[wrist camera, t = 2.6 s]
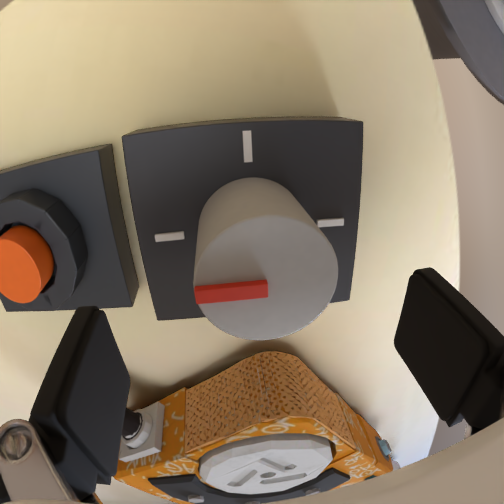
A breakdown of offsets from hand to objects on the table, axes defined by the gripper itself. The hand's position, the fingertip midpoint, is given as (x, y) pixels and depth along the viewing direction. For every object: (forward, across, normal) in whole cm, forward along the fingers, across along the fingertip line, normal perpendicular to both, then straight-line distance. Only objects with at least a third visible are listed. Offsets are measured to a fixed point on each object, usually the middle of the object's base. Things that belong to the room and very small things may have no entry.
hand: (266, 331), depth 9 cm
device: (+10, +2, +21) cm, 24 cm away
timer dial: (+7, 0, 0) cm, 7 cm away
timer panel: (+10, 0, 0) cm, 10 cm away
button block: (+10, +12, 0) cm, 15 cm away
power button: (+7, +12, 0) cm, 13 cm away
